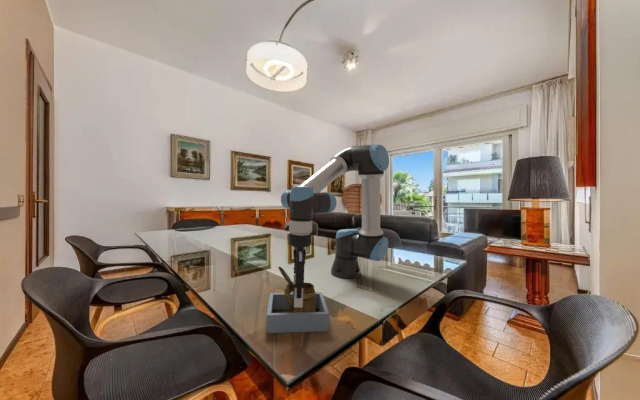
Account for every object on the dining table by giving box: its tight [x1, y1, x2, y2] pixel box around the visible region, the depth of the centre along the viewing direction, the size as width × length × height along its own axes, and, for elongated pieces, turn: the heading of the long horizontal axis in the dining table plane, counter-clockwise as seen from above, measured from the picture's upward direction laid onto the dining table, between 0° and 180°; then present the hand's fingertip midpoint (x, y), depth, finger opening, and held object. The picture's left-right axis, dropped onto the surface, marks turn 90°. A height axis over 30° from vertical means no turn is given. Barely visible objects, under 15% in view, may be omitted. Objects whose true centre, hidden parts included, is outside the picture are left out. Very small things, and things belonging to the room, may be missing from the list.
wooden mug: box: [278, 266, 317, 313], centre depth 83 cm, size 9×14×18 cm, turn 103°
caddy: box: [265, 291, 330, 334], centre depth 83 cm, size 19×15×6 cm
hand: (297, 299), depth 83 cm, fingers open, 9 cm apart
